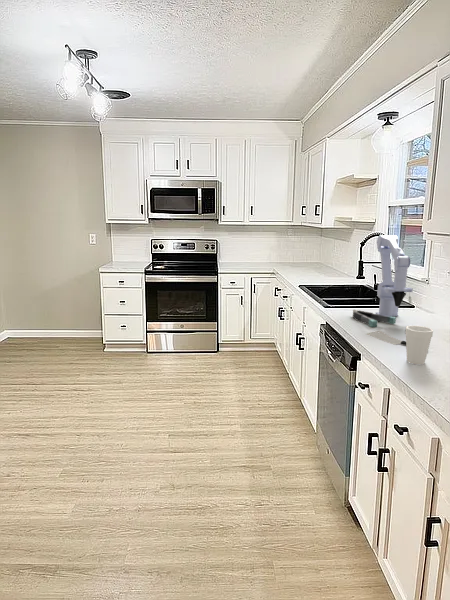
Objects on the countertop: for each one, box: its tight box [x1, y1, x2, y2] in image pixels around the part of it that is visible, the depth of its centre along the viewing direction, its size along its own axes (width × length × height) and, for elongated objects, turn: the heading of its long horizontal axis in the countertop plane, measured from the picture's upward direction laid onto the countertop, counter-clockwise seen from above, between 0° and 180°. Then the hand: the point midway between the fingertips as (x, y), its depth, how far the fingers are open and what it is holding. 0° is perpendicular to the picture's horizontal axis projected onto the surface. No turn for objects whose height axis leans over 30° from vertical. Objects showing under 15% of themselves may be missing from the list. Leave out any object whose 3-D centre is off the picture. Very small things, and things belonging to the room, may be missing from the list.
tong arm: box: [352, 309, 397, 325], centre depth 240 cm, size 22×4×3 cm, turn 45°
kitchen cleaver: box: [365, 330, 406, 347], centre depth 201 cm, size 31×2×10 cm
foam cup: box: [405, 325, 434, 365], centre depth 174 cm, size 10×9×13 cm
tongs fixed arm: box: [352, 312, 378, 328], centre depth 235 cm, size 19×3×3 cm, turn 15°
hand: (397, 306), depth 237 cm, fingers closed
